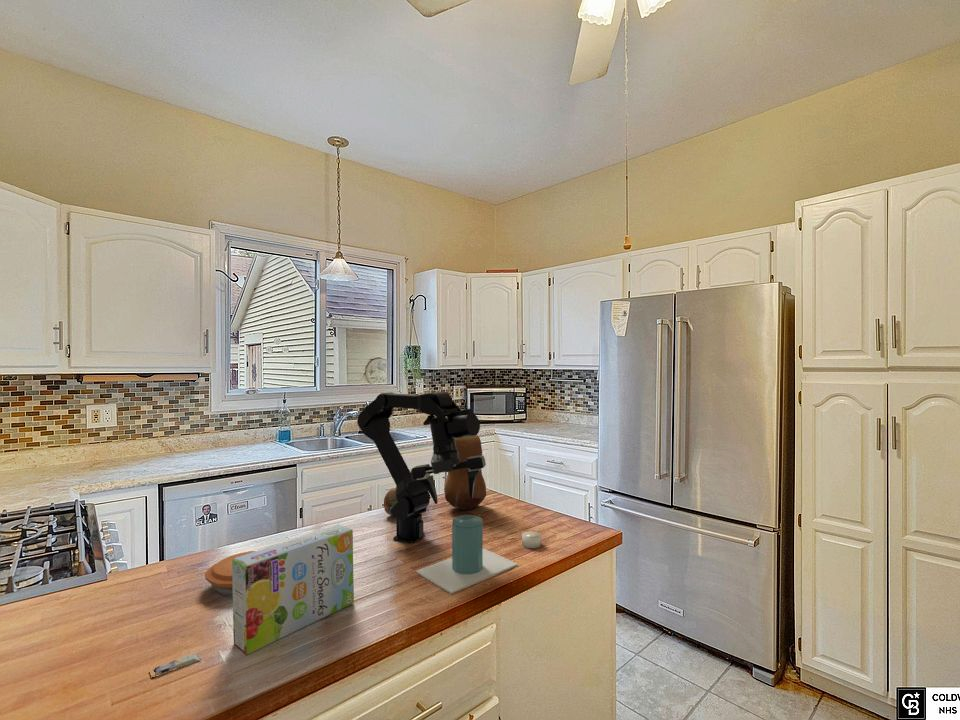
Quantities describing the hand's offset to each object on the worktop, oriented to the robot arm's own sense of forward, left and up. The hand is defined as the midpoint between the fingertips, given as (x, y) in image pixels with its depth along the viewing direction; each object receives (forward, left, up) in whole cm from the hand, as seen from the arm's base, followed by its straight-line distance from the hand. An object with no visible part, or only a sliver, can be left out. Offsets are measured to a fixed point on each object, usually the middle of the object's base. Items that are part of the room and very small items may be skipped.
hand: (454, 501), depth 119 cm
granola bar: (-24, -56, -13) cm, 63 cm away
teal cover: (+7, -8, -12) cm, 16 cm away
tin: (-27, +22, -13) cm, 37 cm away
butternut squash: (-10, +32, -13) cm, 35 cm away
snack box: (-14, -40, -13) cm, 44 cm away
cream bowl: (+18, +11, -13) cm, 24 cm away
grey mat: (+7, -8, -13) cm, 17 cm away
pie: (-36, -31, -13) cm, 49 cm away
